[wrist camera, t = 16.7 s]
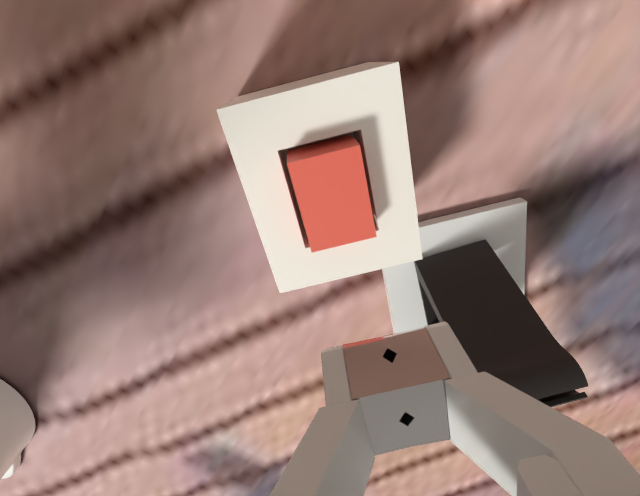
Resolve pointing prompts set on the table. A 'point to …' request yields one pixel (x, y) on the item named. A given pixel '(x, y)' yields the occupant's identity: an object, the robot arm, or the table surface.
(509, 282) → the phone stand
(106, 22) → the table surface
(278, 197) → the box
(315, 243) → the button
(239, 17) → the table surface
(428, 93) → the table surface
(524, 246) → the grey mat
